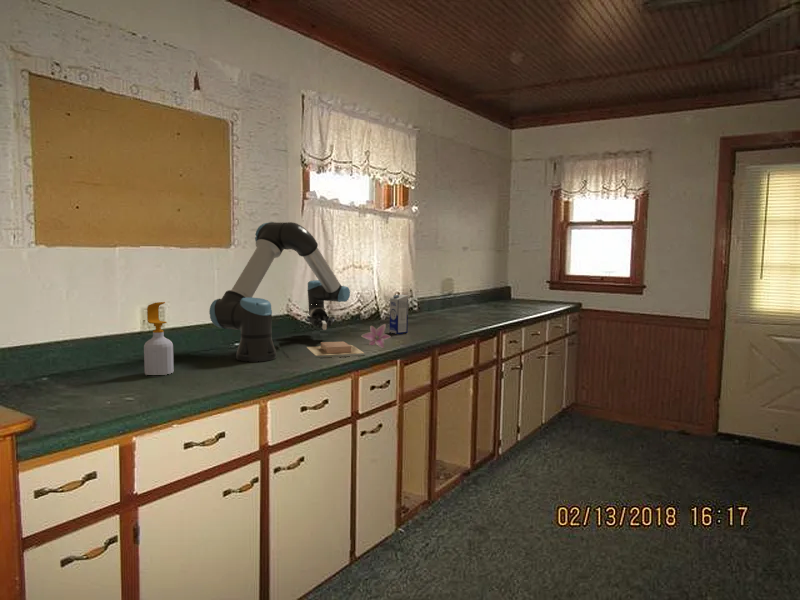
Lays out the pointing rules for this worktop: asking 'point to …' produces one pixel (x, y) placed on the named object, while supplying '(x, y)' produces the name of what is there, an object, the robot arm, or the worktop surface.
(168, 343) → the soap bottle
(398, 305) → the milk carton
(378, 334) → the lily
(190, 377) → the worktop surface
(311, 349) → the board
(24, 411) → the worktop surface
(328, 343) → the tile
